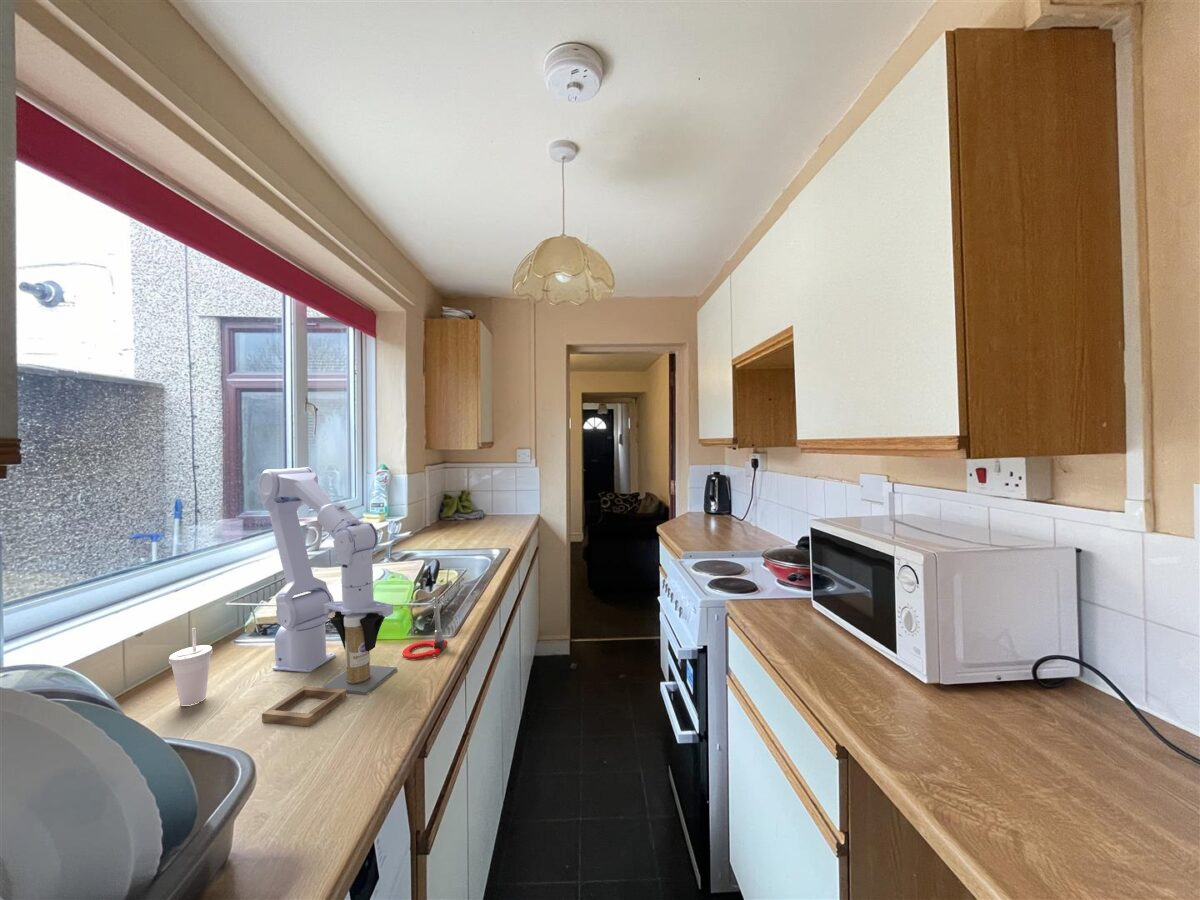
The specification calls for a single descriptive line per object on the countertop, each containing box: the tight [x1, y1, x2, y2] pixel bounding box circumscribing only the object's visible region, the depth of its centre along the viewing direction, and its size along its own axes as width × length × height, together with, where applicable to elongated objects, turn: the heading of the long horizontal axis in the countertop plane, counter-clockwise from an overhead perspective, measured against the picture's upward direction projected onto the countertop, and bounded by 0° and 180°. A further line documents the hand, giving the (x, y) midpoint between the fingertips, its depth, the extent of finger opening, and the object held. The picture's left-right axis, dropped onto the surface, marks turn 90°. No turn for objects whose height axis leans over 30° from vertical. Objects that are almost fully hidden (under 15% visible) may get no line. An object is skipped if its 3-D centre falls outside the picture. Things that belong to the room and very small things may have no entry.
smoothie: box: [168, 627, 213, 705], centre depth 91 cm, size 6×6×14 cm
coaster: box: [322, 664, 398, 696], centre depth 98 cm, size 10×10×1 cm
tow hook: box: [401, 596, 449, 660], centre depth 111 cm, size 8×13×9 cm
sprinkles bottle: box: [344, 614, 371, 684], centre depth 97 cm, size 5×5×13 cm
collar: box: [261, 685, 348, 727], centre depth 88 cm, size 9×9×2 cm
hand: (359, 648), depth 98 cm, fingers open, 4 cm apart
